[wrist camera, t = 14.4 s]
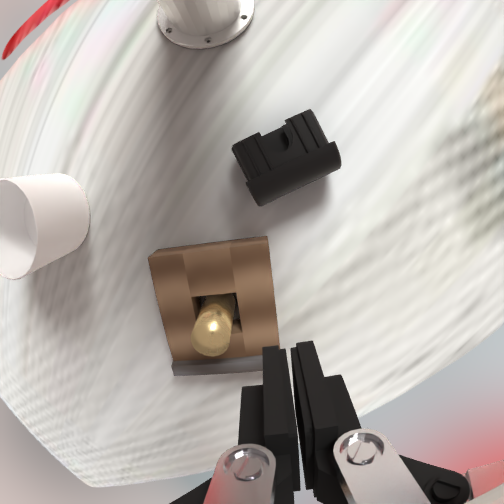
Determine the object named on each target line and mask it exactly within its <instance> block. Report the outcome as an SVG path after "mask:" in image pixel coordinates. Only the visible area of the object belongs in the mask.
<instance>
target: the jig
mask: <svg viewBox="0 0 504 504" xmlns="http://www.w3.org/2000/svg"><path fill="white" fill-rule="evenodd" d="M148 261H149V266H150V271H151V275H152V280H153V284H154V289H155V293H156V297H157V301H158V305H159V309H160V313H161V317H162V321H163V325H164V329H165V333H166V336H167V340H168V344H169V347H170V351H171V354H172V358H173V363H172V370H173V373H174V376H185V375H209V374H226V373H240V372H252V371H262V370H263V358H262V347H266V346H275V345H279V349H280V344H279V335H278V325H277V316H276V307H275V297H274V288H273V279H272V271H271V262H270V253H269V245H268V238H267V236H262V237H253V238H245V239H237V240H229V241H221V242H213V243H205V244H197V245H189V246H181V247H173V248H166V249H158V250H157V251H155V252H154V253H153V254H152V255H151V256H149V257H148ZM234 292H236V294H237V301H238V307H239V313H240V319H234V320H233V323H232V329H231V336H230V342H229V346H228V349H227V350H226V351H225V352H224V353H223V354H221V355H218V356H205V355H203V354H201V353H199V352H198V351H197V350H195V348H194V347H193V345H192V343H191V334H192V331H193V328H194V326H195V323H196V321H197V318H198V316H199V313H200V310H201V303H200V298H199V296H205V295H215V294H225V293H234Z"/></svg>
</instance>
